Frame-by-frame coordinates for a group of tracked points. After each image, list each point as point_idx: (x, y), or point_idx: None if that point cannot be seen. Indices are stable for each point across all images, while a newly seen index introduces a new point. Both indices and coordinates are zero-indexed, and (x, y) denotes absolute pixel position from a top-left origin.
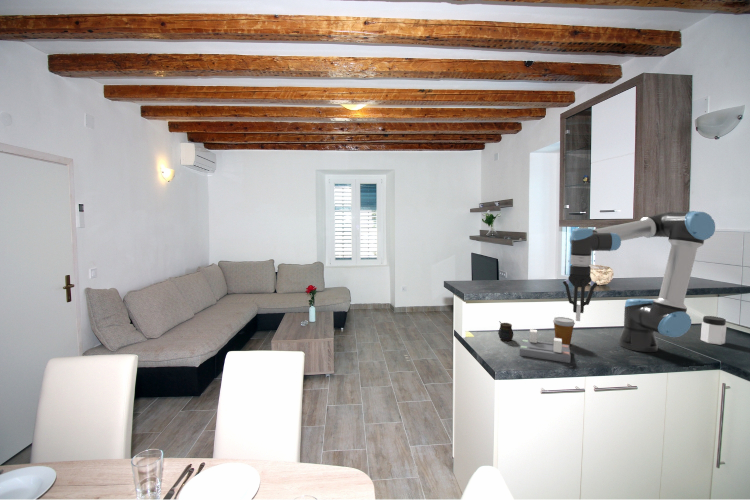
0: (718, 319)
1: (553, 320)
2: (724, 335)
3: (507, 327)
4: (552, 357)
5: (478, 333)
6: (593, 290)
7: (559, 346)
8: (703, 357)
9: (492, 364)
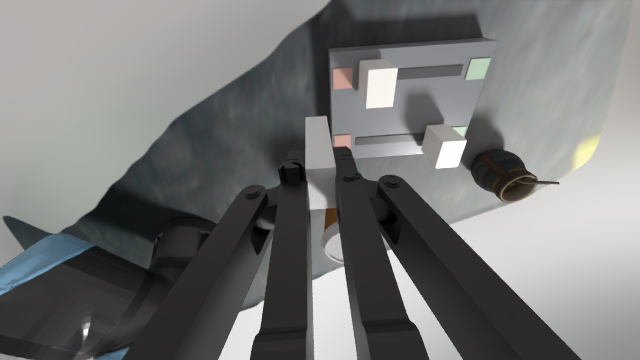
0: None
1: None
2: None
3: (516, 173)
4: (383, 46)
5: (551, 174)
6: (129, 348)
7: (371, 64)
8: (81, 237)
9: None
